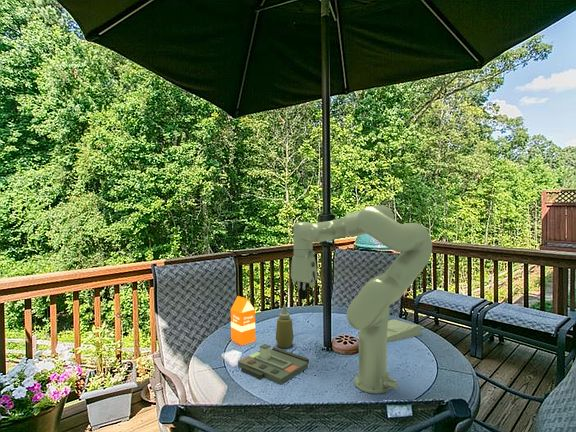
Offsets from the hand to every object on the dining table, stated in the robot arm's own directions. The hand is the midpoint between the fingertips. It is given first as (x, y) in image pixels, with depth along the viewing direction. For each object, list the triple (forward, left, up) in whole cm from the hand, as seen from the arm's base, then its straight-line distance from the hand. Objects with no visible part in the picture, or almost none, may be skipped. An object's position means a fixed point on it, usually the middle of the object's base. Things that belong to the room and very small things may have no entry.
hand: (303, 298), depth 143 cm
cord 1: (+8, +21, -25) cm, 34 cm away
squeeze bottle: (+15, -6, -25) cm, 30 cm away
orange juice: (+34, +1, -25) cm, 42 cm away
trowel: (-17, -46, -26) cm, 56 cm away
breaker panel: (+6, +12, -25) cm, 28 cm away
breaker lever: (+10, +12, -23) cm, 28 cm away
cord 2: (+6, +2, -25) cm, 26 cm away
